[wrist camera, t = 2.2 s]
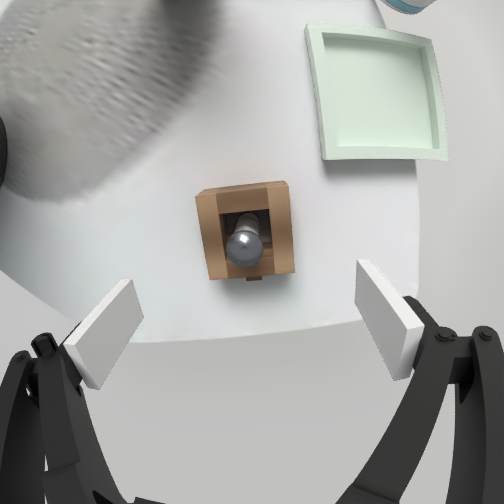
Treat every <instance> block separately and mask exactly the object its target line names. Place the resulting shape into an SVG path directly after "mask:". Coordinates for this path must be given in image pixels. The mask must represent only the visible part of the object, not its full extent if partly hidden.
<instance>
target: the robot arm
mask: <svg viewBox="0 0 504 504" xmlns="http://www.w3.org/2000/svg"><path fill="white" fill-rule="evenodd" d="M6 153H7V147H6V134H5V129H4V125H3V122H2V120H1V118H0V187H1V184H2V181H3V177H4V172H5V166H6ZM355 304H356V306H357V308H358V310H359V312H360V313H361V315H362V317H363V319H364V321H365V323H366V325H367V327H368V329H369V331H370V333H371V335H372V337H373V339H374V341H375V343H376V345H377V347H378V349H379V351H380V353H381V355H382V357H383V359H384V361H385V363H386V366H387V368H388V370H389V372H390V374H391V376H392V379H393V381H396V380H400V379H405V378H408V377H410V374H411V371H412V368H413V369H414V370H415V372H414V374H413V377H412V379H411V381H410V384H409V386H408V388H407V390H406V392H405V395H404V397H403V399H402V401H401V403H400V405H399V407H398V409H397V411H396V413H395V415H394V417H393V419H392V421H391V422H390V425H389V426H388V428H387V430H386V432H385V433H384V435H383V437H382V439H381V440H380V442H379V444H378V445H377V447H376V449H375V450H374V452H373V454H372V455H371V457H370V458H369V460H368V462H367V463H366V464H365V466H364V468H363V469H362V470H361V472H360V473H359V475H358V476H357V478H356V479H355V480H354V482H353V483H352V484H351V485H350V486H349V487H348V488H347V490H346V491H345V492H344V493H343V495H342V496H341V497H340V498H339V500H338V501H337V502H336V503H335V504H399V500H400V498H401V496H402V494H403V492H404V491H405V489H406V487H407V485H408V483H409V481H410V479H411V477H412V476H413V474H414V472H415V469H416V467H417V465H418V463H419V461H420V459H421V457H422V455H423V452H424V450H425V448H426V445H427V443H428V441H429V438H430V436H431V433H432V430H433V428H434V425H435V423H436V420H437V417H438V414H439V411H440V408H441V405H442V402H443V399H444V395H445V392H446V389H447V385H448V384H455V435H454V450H453V461H452V470H451V476H450V483H449V489H448V494H447V499H446V504H504V352H503V349H502V346H501V342H500V339H499V336H498V334H497V332H496V331H495V330H494V329H492V328H490V327H488V326H478V327H476V328H475V329H474V331H473V333H472V336H469V337H458V336H457V334H456V332H455V331H453V330H452V329H450V328H447V327H439V326H438V324H437V323H436V322H435V321H434V319H433V318H432V317H431V316H430V315H429V313H428V312H426V310H425V309H424V308H423V307H422V305H421V304H420V303H419V302H418V301H417V300H416V299H414V298H412V297H411V296H405V297H402V296H401V295H400V294H399V293H398V291H397V290H396V289H395V288H394V286H393V285H392V284H391V283H390V282H389V280H388V279H387V278H386V277H385V276H384V275H383V273H382V272H381V271H380V270H379V269H378V268H377V266H376V265H375V264H374V263H373V262H372V261H371V260H370V258H367V259H358V260H357V268H356V289H355ZM143 318H144V316H143V313H142V310H141V307H140V304H139V301H138V298H137V294H136V291H135V288H134V285H133V281H132V279H122V280H121V281H120V282H119V283H118V284H117V285H116V286H115V287H114V288H113V289H112V290H111V291H110V292H109V293H108V294H107V295H106V296H105V297H104V298H103V299H102V300H101V302H100V303H99V304H98V305H97V306H96V307H95V308H94V309H93V310H92V311H91V312H90V313H89V315H88V316H87V317H86V318H85V319H84V320H83V321H82V322H80V323H79V324H78V325H77V326H76V327H75V328H74V330H72V332H71V333H70V334H69V335H68V336H67V337H66V338H65V340H64V341H63V342H62V343H61V344H60V346H59V347H58V345H57V343H56V341H55V340H54V338H53V336H52V334H51V333H42V334H40V335H38V336H37V337H35V338H34V339H33V340H32V342H31V346H32V348H33V349H34V351H35V353H36V355H37V357H38V358H31V356H30V354H29V352H28V351H26V350H25V351H19V352H18V353H16V354H15V355H14V356H13V357H12V359H11V361H10V363H9V366H8V368H7V371H6V373H5V375H4V378H3V381H2V383H1V386H0V504H45V496H46V500H47V504H164V503H160V502H155V501H150V500H146V499H142V498H138V497H135V501H134V503H127V502H126V501H125V500H124V499H123V497H122V496H121V494H120V493H119V491H118V489H117V487H116V484H115V482H114V480H113V478H112V476H111V473H110V471H109V468H108V466H107V464H106V461H105V459H104V456H103V453H102V451H101V448H100V445H99V443H98V440H97V437H96V434H95V431H94V428H93V425H92V421H91V419H90V415H89V412H88V408H87V404H86V401H85V397H84V393H83V389H82V387H81V386H80V382H81V380H82V379H83V381H84V382H85V384H86V386H87V387H88V388H92V389H97V390H100V388H101V386H102V385H103V383H104V381H105V380H106V378H107V376H108V374H109V373H110V371H111V369H112V368H113V366H114V364H115V363H116V361H117V359H118V357H119V356H120V355H121V353H122V351H123V350H124V348H125V346H126V345H127V343H128V342H129V340H130V338H131V337H132V335H133V334H134V332H135V330H136V329H137V327H138V326H139V324H140V323H141V321H142V319H143ZM26 388H27V389H28V391H29V392H30V395H29V396H28V394H27V390H26ZM45 454H46V460H47V465H48V471H44V470H45Z"/></svg>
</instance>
